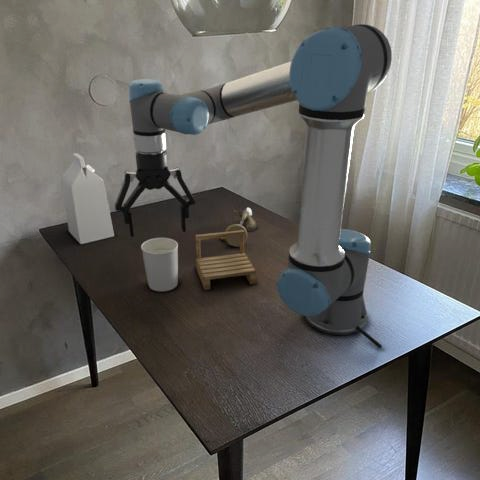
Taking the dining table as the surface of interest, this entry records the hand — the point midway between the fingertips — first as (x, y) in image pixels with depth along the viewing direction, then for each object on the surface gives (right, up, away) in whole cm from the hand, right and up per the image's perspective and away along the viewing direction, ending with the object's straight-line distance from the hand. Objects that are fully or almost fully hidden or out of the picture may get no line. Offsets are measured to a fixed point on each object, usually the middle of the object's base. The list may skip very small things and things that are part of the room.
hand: (158, 232), depth 134 cm
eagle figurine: (+24, +10, +43) cm, 50 cm away
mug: (+20, +2, +32) cm, 37 cm away
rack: (+17, -10, +13) cm, 24 cm away
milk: (-28, +6, +37) cm, 47 cm away
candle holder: (0, -13, +9) cm, 16 cm away
